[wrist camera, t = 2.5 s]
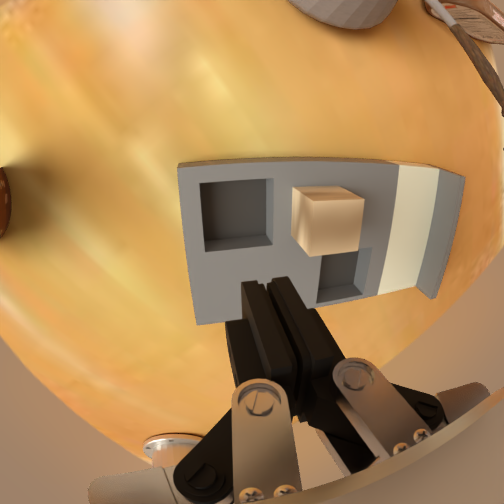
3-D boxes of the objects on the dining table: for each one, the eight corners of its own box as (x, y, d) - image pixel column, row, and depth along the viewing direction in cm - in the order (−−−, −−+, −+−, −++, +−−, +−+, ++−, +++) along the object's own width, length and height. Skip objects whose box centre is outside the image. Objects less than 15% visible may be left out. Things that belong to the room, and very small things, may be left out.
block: (334, 230, 24) (357, 250, 20) (291, 235, 23) (309, 256, 20) (338, 185, 22) (364, 199, 19) (292, 186, 21) (313, 201, 18)
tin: (479, 29, 18) (524, 29, 11) (482, 48, 20) (528, 50, 12) (406, -11, 16) (459, -26, 9) (411, 11, 17) (467, -1, 10)
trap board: (409, 274, 32) (435, 297, 27) (195, 309, 27) (199, 347, 22) (429, 164, 26) (465, 176, 21) (178, 163, 21) (175, 175, 16)
